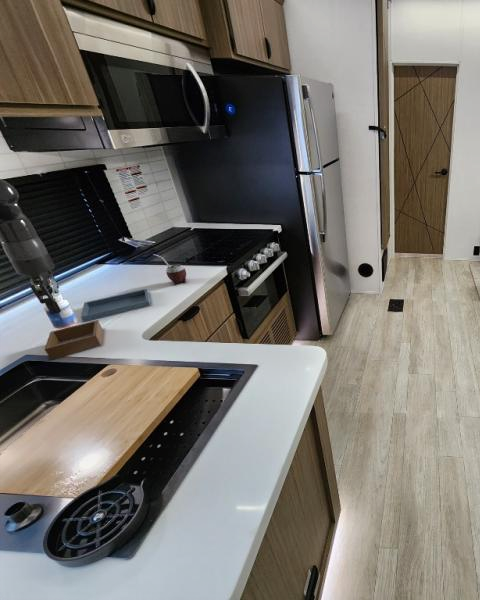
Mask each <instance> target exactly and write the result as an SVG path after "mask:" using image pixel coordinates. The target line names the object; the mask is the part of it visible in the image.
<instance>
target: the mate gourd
mask: <svg viewBox="0 0 480 600" xmlns="http://www.w3.org/2000/svg"><path fill="white" fill-rule="evenodd" d="M152 255H153V256H155V257H158V258H160V260H161V261H163V263H165V264H166V266H167V268H166V270H165V271H166V276H167V278H168V279H169V280H170V281H171V282H172V283H173V284H174V286H176V285H178V284H181V283H182V284H186V283H187V279H186V278H187V271H186V268H185V267H184V266H183V265H182V264H179V263H178V264H177V263H176V264H171V265H170V264H169V263H168V262H167V260H165V258H164V257H163V256H160V255H158V254H154V253H152Z"/></svg>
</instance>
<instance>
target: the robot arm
mask: <svg viewBox="0 0 480 600" xmlns="http://www.w3.org/2000/svg"><path fill="white" fill-rule="evenodd" d="M19 200H20V195H19V192H18V190H17V189H16V188H15V186H14V185H12V184H11V183H9V182H8V181H6V180H3V179H2V178H0V244H1V246H2V249H3V251H4V253H5V255H6V257H7V258H8V260H9V262H10V263H11V265H12V267H13V268H14V270H15V272H16V273H17V275H19V276H29V277H30V280H29V282H30V286H29V288H30V289H31V291H32V292H33V293H34V296H35V297H36V298H37V300H38V301H39V303H40V304H43V305H45V304H46V306H47V308H48V310H49V311H50V313H51V314H56V313H60V312H61V309H60V307H59V305H58V303H57V302H56V299H55V297H54V295H53V294H54V293H60V290H59V289H60V286H59V285H58V282H57V280H56V278H55V276H54V274H53V270H54V269H55V267H56V265H55V263H54V261H53V259H52V258H51V256H50V254H49V252H48V249H47V248H46V246H45V244H44V242H43V241H42V240H41V238H40V237H39V236H38V235H39V234H38V233H37V231H36V229H35V228H34V226H33V223H32V222H31V221H30V219H29V218H28V217H27V216H26V215H25V214H24V213H23V211H22V209H21V207H20V205H19V203H18V202H19ZM44 296H48V298H45V297H44Z"/></svg>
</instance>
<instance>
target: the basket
mask: <svg viewBox="0 0 480 600" xmlns="http://www.w3.org/2000/svg"><path fill="white" fill-rule="evenodd" d="M101 325H102V324H100V322H99V320H98V319H95V320H91V321H87V322H83V323H79V324H77V325H76V324H75V325H72V326H70V327H67V328H62V329H55V330H52V331H50V332H49V334H48V338H47V341H46V343H45V346H44V351H45V353H46V354H47V356H48V358H49V359H50V361H52V360H56V359H60V358H63V357H66V356H70V355H74V354H77V353H80V352H84V351H85V352H86V351H88V350H92V349H95V348H98V347H102V343H103V333H104V329H103V327H102V326H101ZM84 336H85V337H84ZM76 338H78V339H76ZM61 342H62V343H61Z"/></svg>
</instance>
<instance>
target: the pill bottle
mask: <svg viewBox="0 0 480 600" xmlns="http://www.w3.org/2000/svg"><path fill="white" fill-rule="evenodd" d="M53 295H54V297H55V299H56V302H57V303H58V305H59V307H60V309H61V312H60V313H56V314H51V313H50V311H49V310H48V308H47V306H46V304H45V303H44V304H43V305H42V308H43V310H44V312H45V314H46V316H47V317H48V319H49V321H50V323H51V325H52V327H53V328H54V329H56V330H60V329H64V328H68V327H72V326H75V325H76V324H78V318H77V316H76V314H75V312H74V310H73V309H72V307H71V305H70V303H69V301H68V300H67V299H64V298H63V296H62V294H61V293H60V292H59V293H54V294H53ZM44 297H45V298H48V296H44Z"/></svg>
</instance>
